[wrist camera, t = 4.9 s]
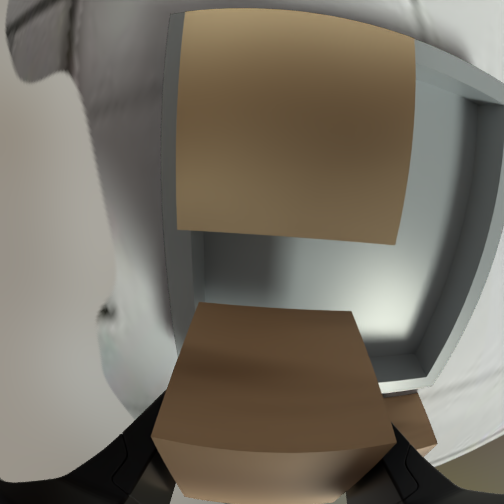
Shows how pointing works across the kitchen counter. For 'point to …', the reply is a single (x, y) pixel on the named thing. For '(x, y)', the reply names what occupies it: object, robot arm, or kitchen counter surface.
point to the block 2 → (271, 407)
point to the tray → (368, 254)
